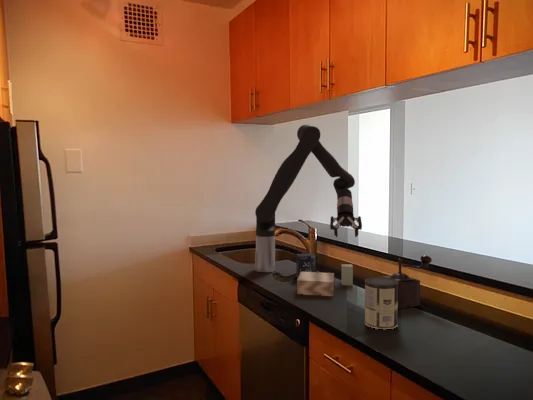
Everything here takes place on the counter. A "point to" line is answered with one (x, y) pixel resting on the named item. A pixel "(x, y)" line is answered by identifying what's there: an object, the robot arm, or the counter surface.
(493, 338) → the counter surface
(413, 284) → the coffee grinder
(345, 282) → the green block
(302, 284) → the maple block
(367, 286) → the coffee can
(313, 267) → the box
